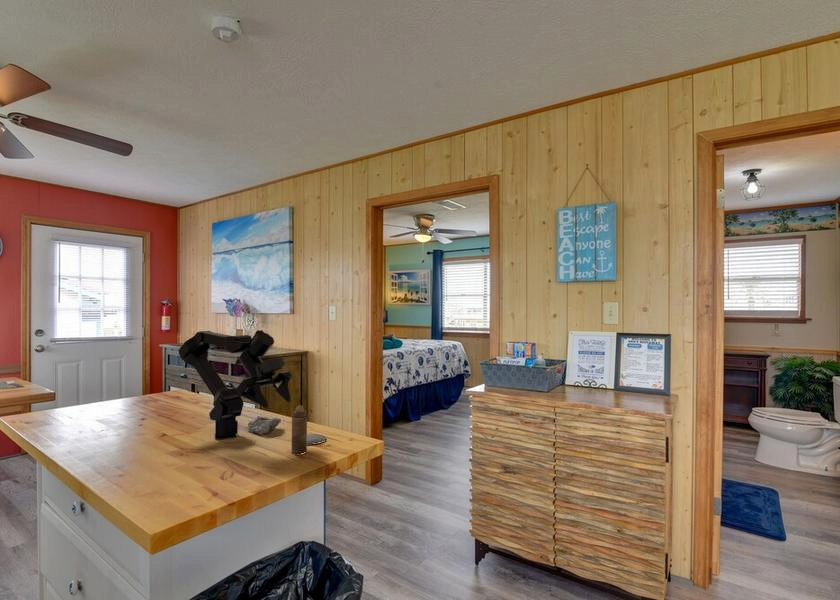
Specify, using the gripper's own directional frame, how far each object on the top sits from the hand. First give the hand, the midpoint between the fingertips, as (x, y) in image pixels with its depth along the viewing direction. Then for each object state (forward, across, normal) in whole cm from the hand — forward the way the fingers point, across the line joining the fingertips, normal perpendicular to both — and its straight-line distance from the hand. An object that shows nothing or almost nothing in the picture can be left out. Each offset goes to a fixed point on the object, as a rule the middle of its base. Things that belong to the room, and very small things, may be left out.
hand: (278, 404), depth 138 cm
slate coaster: (+12, +11, +7) cm, 18 cm away
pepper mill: (+16, 0, +4) cm, 16 cm away
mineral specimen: (-4, +11, +23) cm, 26 cm away
